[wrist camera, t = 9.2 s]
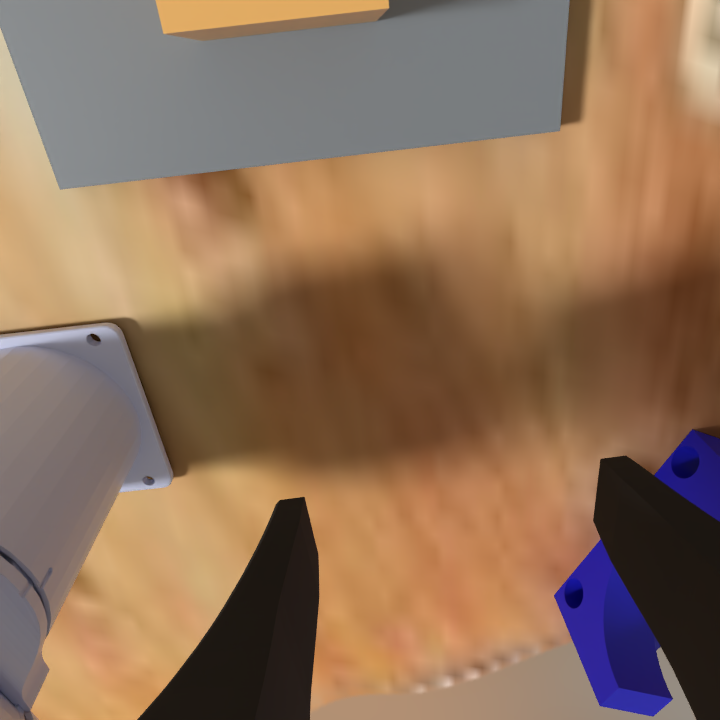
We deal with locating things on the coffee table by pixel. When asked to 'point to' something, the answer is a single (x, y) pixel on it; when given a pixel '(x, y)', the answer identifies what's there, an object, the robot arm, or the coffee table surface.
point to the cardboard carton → (260, 16)
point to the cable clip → (617, 608)
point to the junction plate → (279, 85)
